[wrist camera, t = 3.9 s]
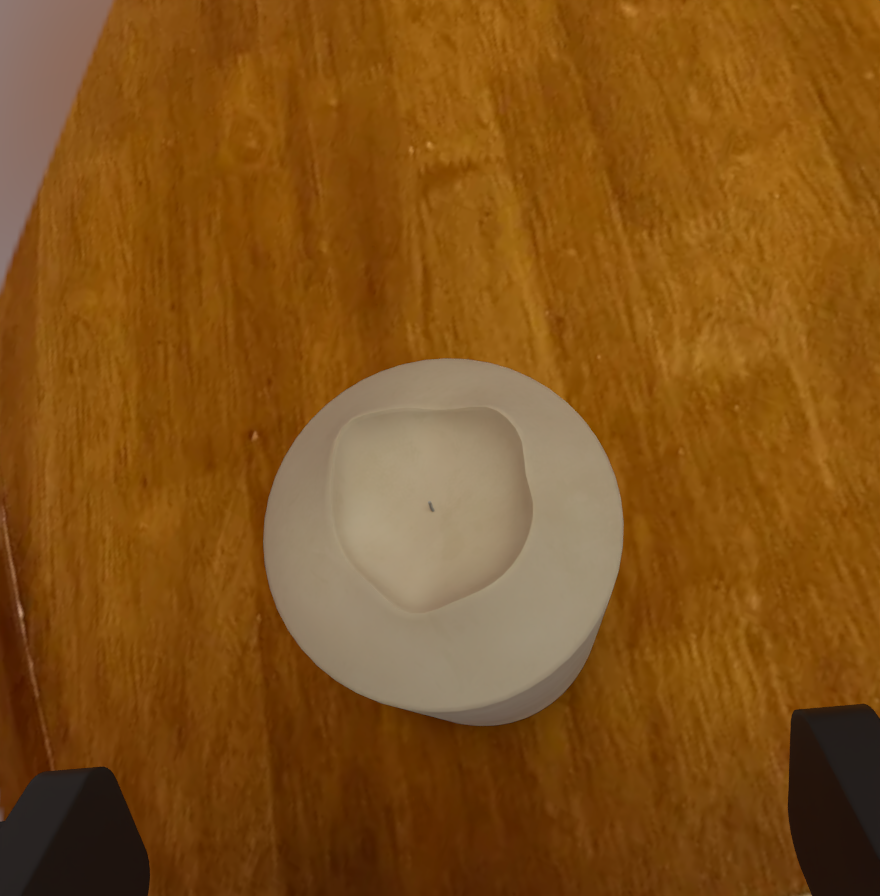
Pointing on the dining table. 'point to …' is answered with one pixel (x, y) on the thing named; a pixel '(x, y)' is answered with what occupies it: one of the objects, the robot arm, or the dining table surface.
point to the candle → (446, 540)
